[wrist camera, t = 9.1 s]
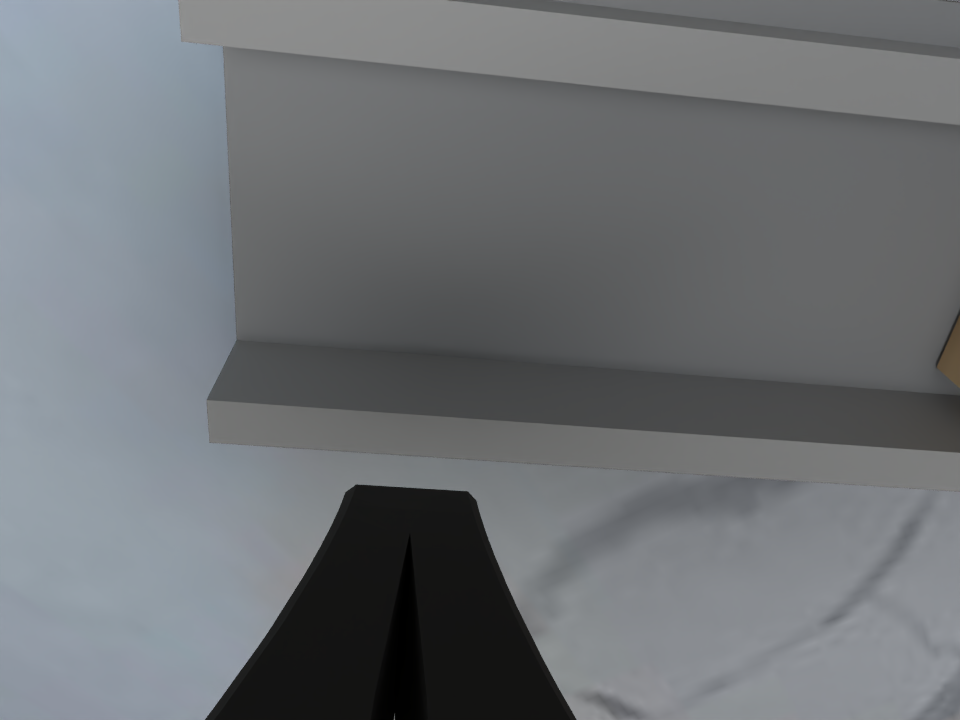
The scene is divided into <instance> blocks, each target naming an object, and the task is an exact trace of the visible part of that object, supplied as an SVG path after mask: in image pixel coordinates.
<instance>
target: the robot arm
mask: <svg viewBox="0 0 960 720" xmlns="http://www.w3.org/2000/svg"><path fill="white" fill-rule="evenodd" d="M394 714H395V720H576V718H575V716H574V714H573V713H572V711H571V709H570V707H569V706H568V704H567V702H566V701H565V699H564V697H563V695H562V694H561V692H560V690H559V688H558V686H557V685H556V683H555V681H554V679H553V677H552V675H551V673H550V672H549V670H548V668H547V666H546V664H545V662H544V660H543V659H542V657H541V655H540V652H539V650H538V648H537V646H536V644H535V642H534V640H533V638H532V636H531V634H530V632H529V630H528V628H527V626H526V624H525V622H524V620H523V618H522V616H521V614H520V612H519V610H518V608H517V606H516V604H515V602H514V599H513V597H512V595H511V593H510V591H509V589H508V586H507V584H506V582H505V579H504V577H503V575H502V572H501V570H500V567H499V565H498V563H497V560H496V558H495V555H494V553H493V550H492V548H491V545H490V542H489V540H488V537H487V534H486V531H485V528H484V525H483V522H482V519H481V516H480V513H479V509H478V505H477V501H476V500H475V499H474V498H473V497H472V495H471V494H470V493H469V492H467V491H451V490H435V489H419V488H403V487H387V486H371V485H355V486H354V487H352V488H351V489H350V490H348V491H347V492H345V495H344V498H343V500H342V503H341V506H340V508H339V511H338V513H337V515H336V517H335V519H334V521H333V524H332V526H331V528H330V530H329V532H328V534H327V535H326V537H325V539H324V541H323V543H322V545H321V547H320V549H319V550H318V552H317V554H316V556H315V557H314V559H313V561H312V563H311V564H310V566H309V568H308V570H307V571H306V573H305V575H304V577H303V578H302V580H301V581H300V583H299V584H298V586H297V588H296V589H295V591H294V592H293V594H292V596H291V597H290V599H289V600H288V602H287V603H286V605H285V607H284V608H283V610H282V611H281V613H280V614H279V616H278V618H277V619H276V621H275V622H274V624H273V626H272V627H271V629H270V630H269V632H268V633H267V635H266V636H265V638H264V639H263V641H262V642H261V643H260V645H259V646H258V648H257V649H256V650H255V652H254V653H253V655H252V656H251V657H250V659H249V660H248V662H247V663H246V664H245V666H244V667H243V668H242V670H241V671H240V673H239V674H238V675H237V677H236V678H235V679H234V681H233V682H232V684H231V685H230V686H229V688H228V689H227V691H226V692H225V693H224V695H223V696H222V697H221V699H220V700H219V702H218V703H217V704H216V706H215V707H214V709H213V710H212V711H211V712H210V714H209V715H208V716H207V718H206V719H205V720H394Z"/></svg>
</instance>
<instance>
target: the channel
mask: <svg viewBox="0 0 960 720" xmlns="http://www.w3.org/2000/svg"><path fill="white" fill-rule="evenodd" d="M178 1H179V15H180V29H181V42H190V43H200V44H209V45H218V46H223V55H224V76H225V98H226V119H227V141H228V162H229V184H230V205H231V227H232V248H233V270H234V291H235V313H236V334H237V341H236V343H235V345H234V347H233V349H232V351H231V353H230V355H229V357H228V359H227V361H226V363H225V365H224V367H223V369H222V371H221V373H220V374H219V376H218V378H217V380H216V382H215V384H214V386H213V388H212V390H211V392H210V394H209V396H208V398H207V413H208V428H209V442H210V443H222V444H238V445H253V446H268V447H283V448H299V449H314V450H329V451H344V452H360V453H375V454H390V455H405V456H421V457H436V458H451V459H466V460H482V461H497V462H512V463H527V464H543V465H558V466H573V467H588V468H604V469H619V470H634V471H649V472H665V473H680V474H695V475H710V476H726V477H741V478H756V479H771V480H787V481H802V482H817V483H832V484H848V485H863V486H878V487H893V488H909V489H924V490H939V491H954V492H960V388H959V387H958V386H957V385H955V384H954V383H953V382H952V381H951V380H950V379H949V378H948V377H947V376H945V375H944V374H943V373H942V372H941V371H940V370H939V369H938V368H937V365H938V363H939V361H940V359H941V356H942V354H943V352H944V350H945V347H946V345H947V343H948V341H949V338H950V336H951V334H952V332H953V329H954V327H955V325H956V323H957V320H958V318H959V316H960V2H955V1H946V0H178Z"/></svg>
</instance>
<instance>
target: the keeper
mask: <svg viewBox="0 0 960 720" xmlns="http://www.w3.org/2000/svg"><path fill="white" fill-rule="evenodd" d="M937 368H938V369H939V370H940V371H941V372H942V373H943V374H944V375H945V376H947V377H948V378H949V379H950V380H951V381H952V382H953V383H954V384H955V385H957V386H958V387H959V388H960V316H959V318H958V320H957V323H956V325H955V327H954V329H953V332H952V334H951V336H950V338H949V341H948V343H947V345H946V347H945V350H944V352H943V354H942V356H941V359H940V361H939V363H938V365H937Z"/></svg>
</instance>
